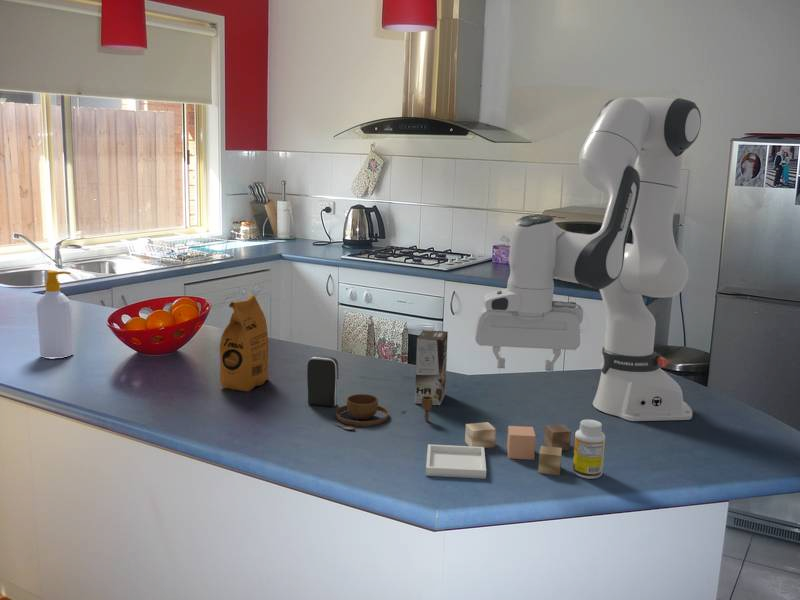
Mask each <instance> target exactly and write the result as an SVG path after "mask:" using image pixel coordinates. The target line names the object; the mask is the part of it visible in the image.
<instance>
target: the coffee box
mask: <svg viewBox="0 0 800 600" xmlns="http://www.w3.org/2000/svg"><path fill="white" fill-rule="evenodd" d="M448 333H449V331H445V330H444V331H443V330H424V329H423V330H422V331H421V333H420V334H418V337H417V338H416V356H415V358H416V360H415V385H414V404H419V405H420V404H421V405H422V397H424V396H430V397H432V398H433V403H432V406H436V405H439V406H441V404H442V402H443V400H444V398H445V395H446V388H447V386H446V385H447V361H448V336H449V335H448Z"/></svg>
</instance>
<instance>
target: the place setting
mask: <svg viewBox="0 0 800 600" xmlns="http://www.w3.org/2000/svg"><path fill="white" fill-rule="evenodd" d="M432 403H433V398H432V397H430V396H424V397H422V404H421V408H422V409H423V410H424V414H423V415H424V416H423V417H424V420H425V421H429V422H430V420H429V418H430V414H429V412H430V410H432V408H433V405H432ZM347 410H348V411H347ZM377 410H378V411H381V412H382V413H384V414H385V415H386V416H385V417H384V416H383V417H381V418H378V419H372V420H370V419H371V418H372V417H373V416H374V415H376V414H377V413H378V412H377ZM344 411H347V412H348V414H349V415H350V416H352V417H353V418H354V419H355V418H356V419H355V420H351V419H347V418H344V417H341V415H342V414H341V413H342V412H344ZM400 412H401V413H400V414H404V413H406V410H402V411H400ZM340 414H341V415H340ZM339 415H340V416H339ZM389 415H390V412H389V410H388V408H386V407H384V406H382V405H379V398H378V397H377V396H375V395H372V394H367V393H359V394H353V395H350V396H348V397H347V398H346V405H342V406H340V407H338V408H337V409H336V411H335V417H336V419H337V420H338V421H339V422H340V421H341V422H340V423H342V422H343V423H342V424H344V423H346V424H345V425H340V424H336V425H337V426H336V427H339V426H340V427H339V428H341V429H342V430H344V429H345V428H343V427H351V428H352V429H346V430H345V431H348V430H352V431H354V430H356V427H355V426H352V425H358V426H357V427H368V426H367V425H373V426H376V425H375V424H378V425H380V424H379V423H381V424H383V423H384V422H386V421H387V420H388V418H389ZM369 418H370V419H369ZM358 419H367V421H366V420H360V421H358ZM382 422H383V423H382ZM347 424H350V425H348V426H347ZM364 425H365V426H364Z"/></svg>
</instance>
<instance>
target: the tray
mask: <svg viewBox="0 0 800 600" xmlns="http://www.w3.org/2000/svg"><path fill="white" fill-rule="evenodd" d="M426 451H427V452H426V463H425V464H426V465H425V476H428V477H429V476H430V477H447V478H466V479H467V478H468V479H469V478H470V479H483V480H484V479H487V463H486V456H485V455H486V454H485V453H486V452H485V448H484V447H471V446H469V445H468V446H467V445H466V446H465V445H451V444H449V445H447V444H429V443H428V444H427V450H426Z"/></svg>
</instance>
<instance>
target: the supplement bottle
mask: <svg viewBox="0 0 800 600" xmlns="http://www.w3.org/2000/svg"><path fill="white" fill-rule="evenodd" d="M579 422H580V425H579V429H577V430H576V431H575V435H574V447H573V460H572V461H573V463H572V471H573V473H574V474H575V475H576V476H578V477H580V478H583V479H589V480H590V479H592V480H593V479H599V478H600V477H602V475H603V472H604V470H603V469H604V460H605V459H604V458H605V448H606V447H605V446H606V435H605V433H604V432H603V431H602V430H603V428H602V427H603V424H602V422H600V421H598V420H595V419H582V420H581V421H579Z"/></svg>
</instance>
